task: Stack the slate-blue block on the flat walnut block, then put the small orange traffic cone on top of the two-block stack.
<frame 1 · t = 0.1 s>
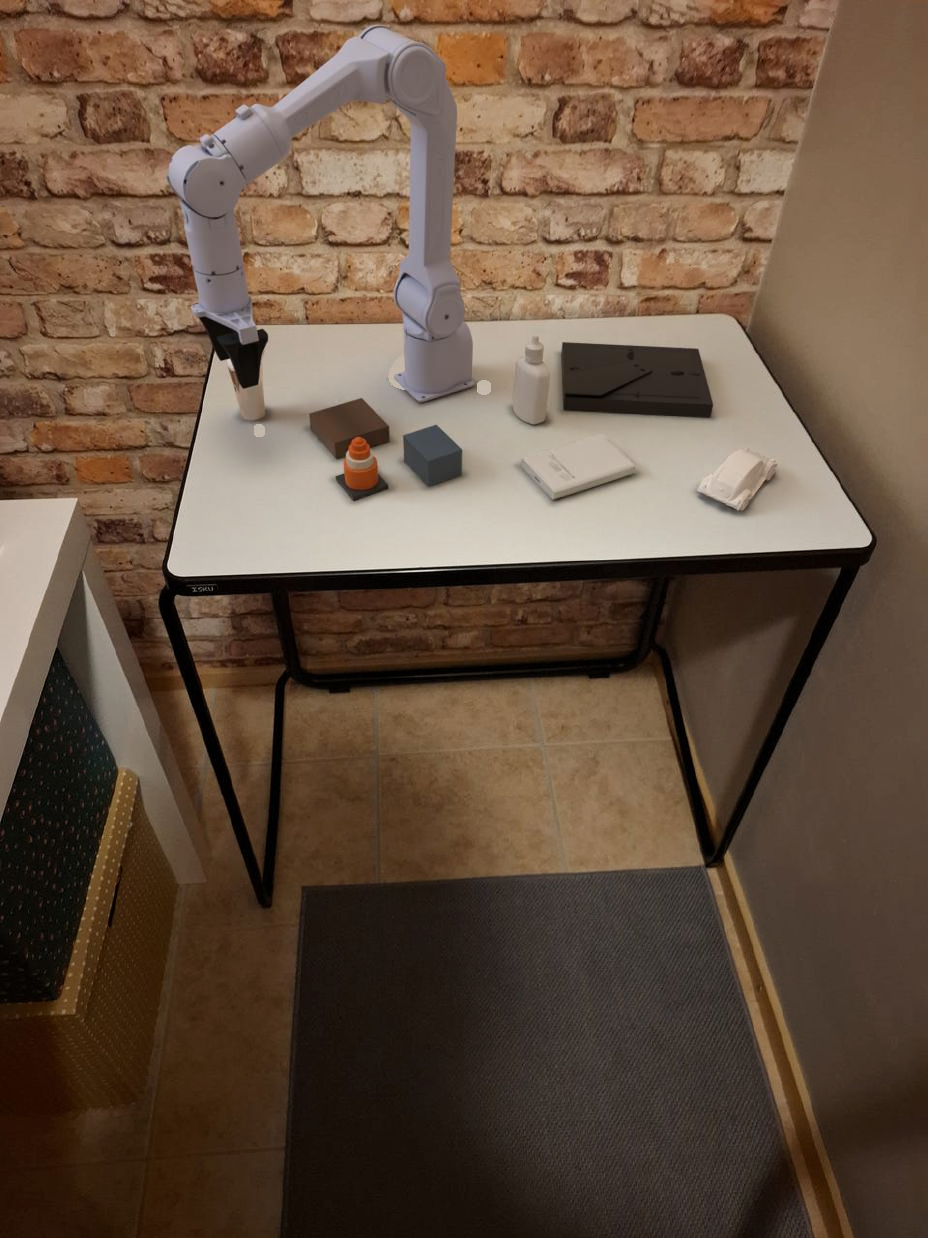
hand: (238, 371, 108), 10 cm above the table, tool pointing down, fingers open, 7 cm apart
cone: (362, 484, 109), on the table
hard drive: (576, 471, 112), on the table
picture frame: (631, 385, 127), on the table
eye dropper bottle: (528, 416, 121), on the table
car: (736, 487, 110), on the table
milkshake: (256, 415, 119), on the table
base block: (349, 435, 116), on the table
blue block: (432, 467, 111), on the table
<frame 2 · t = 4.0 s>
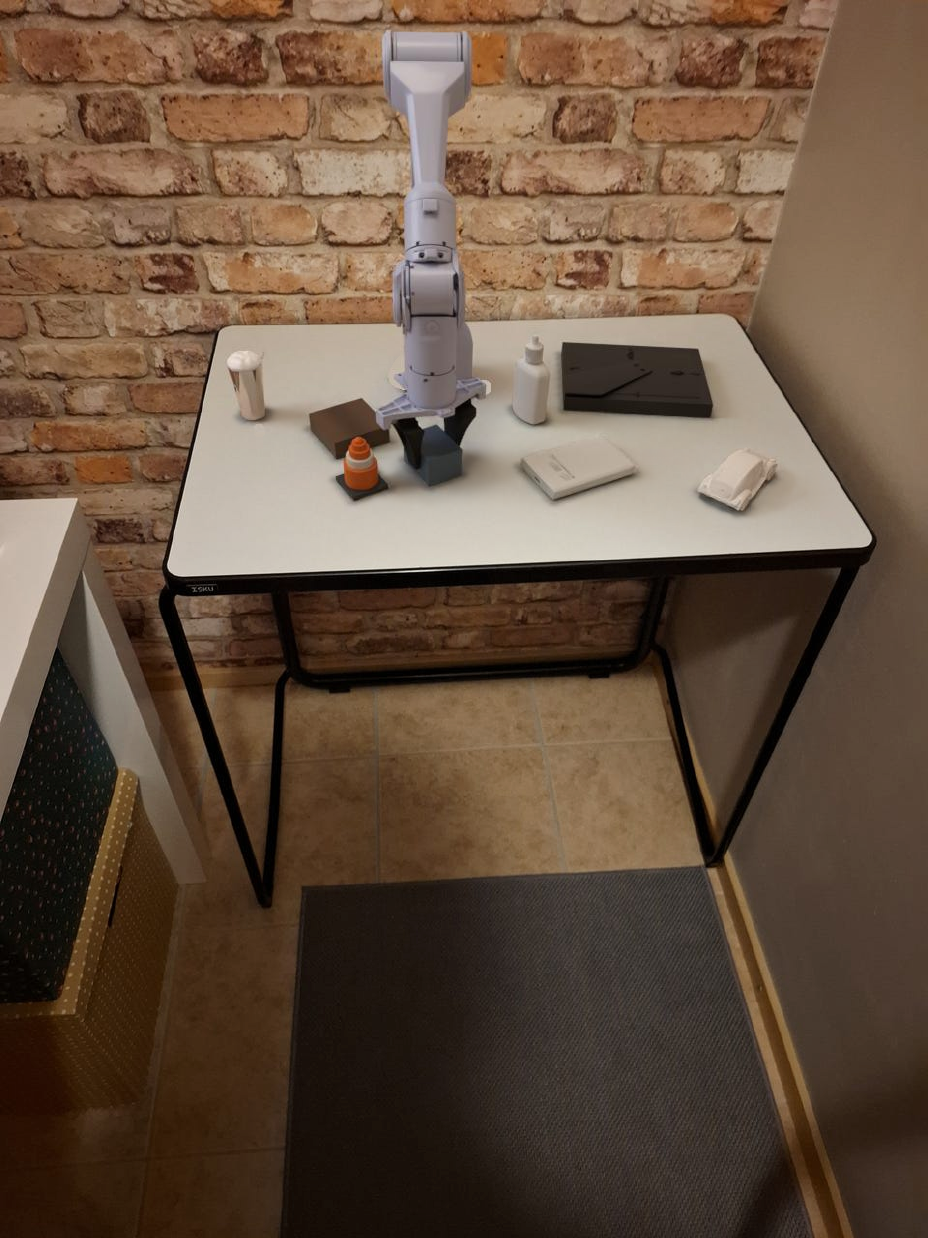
hand: (432, 458, 110), 1 cm above the table, tool pointing down, fingers closed on blue block, 5 cm apart
blue block: (432, 467, 111), on the table, touching gripper
everything else where it was.
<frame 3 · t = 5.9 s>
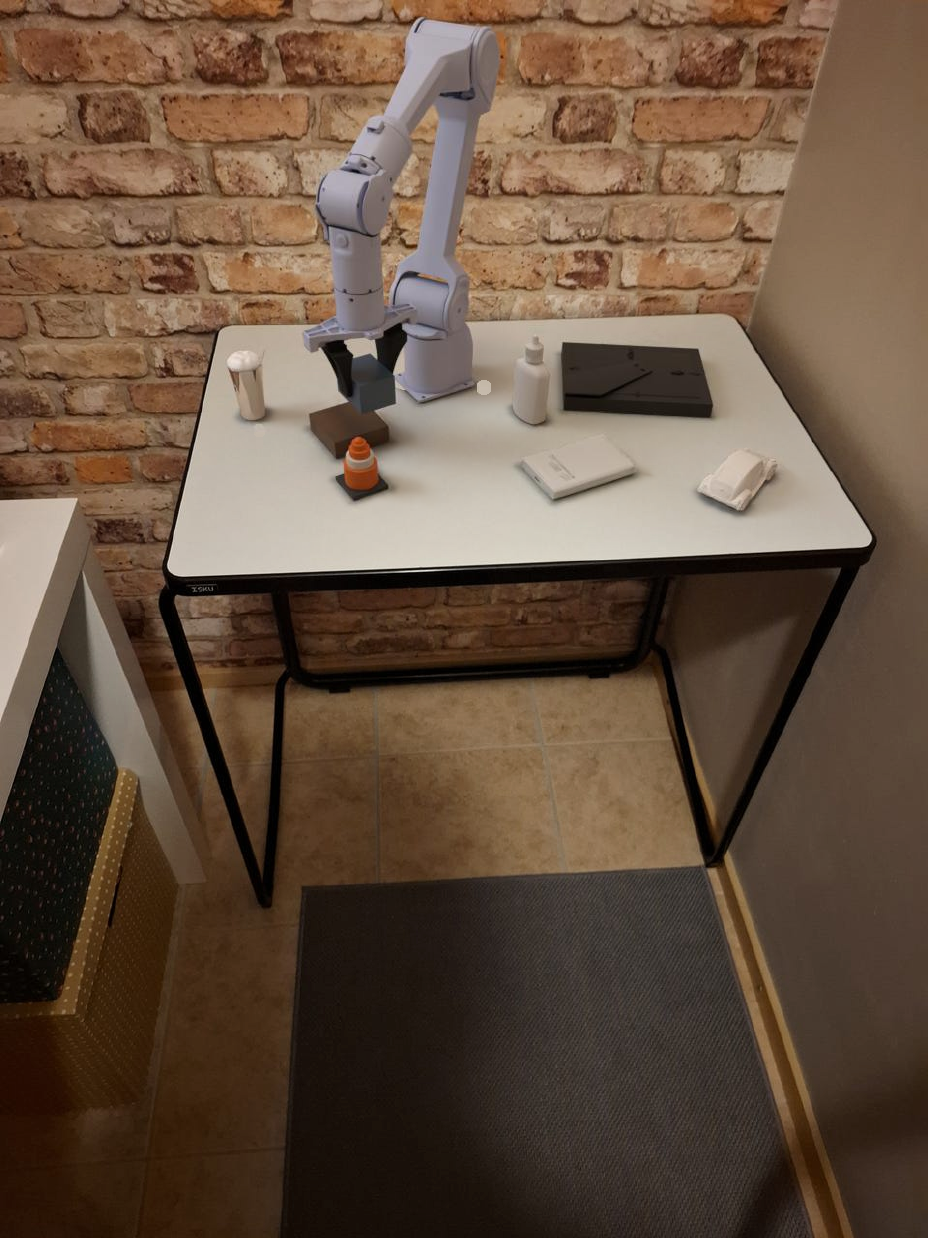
hand: (365, 387, 109), 8 cm above the table, tool pointing down, fingers closed on blue block, 5 cm apart
blue block: (366, 397, 110), point 7 cm above the table, touching gripper
everything else where it was.
when the fingers open (4 cm above the table, at t = 7.8 s): blue block stays where it is, resting on base block.
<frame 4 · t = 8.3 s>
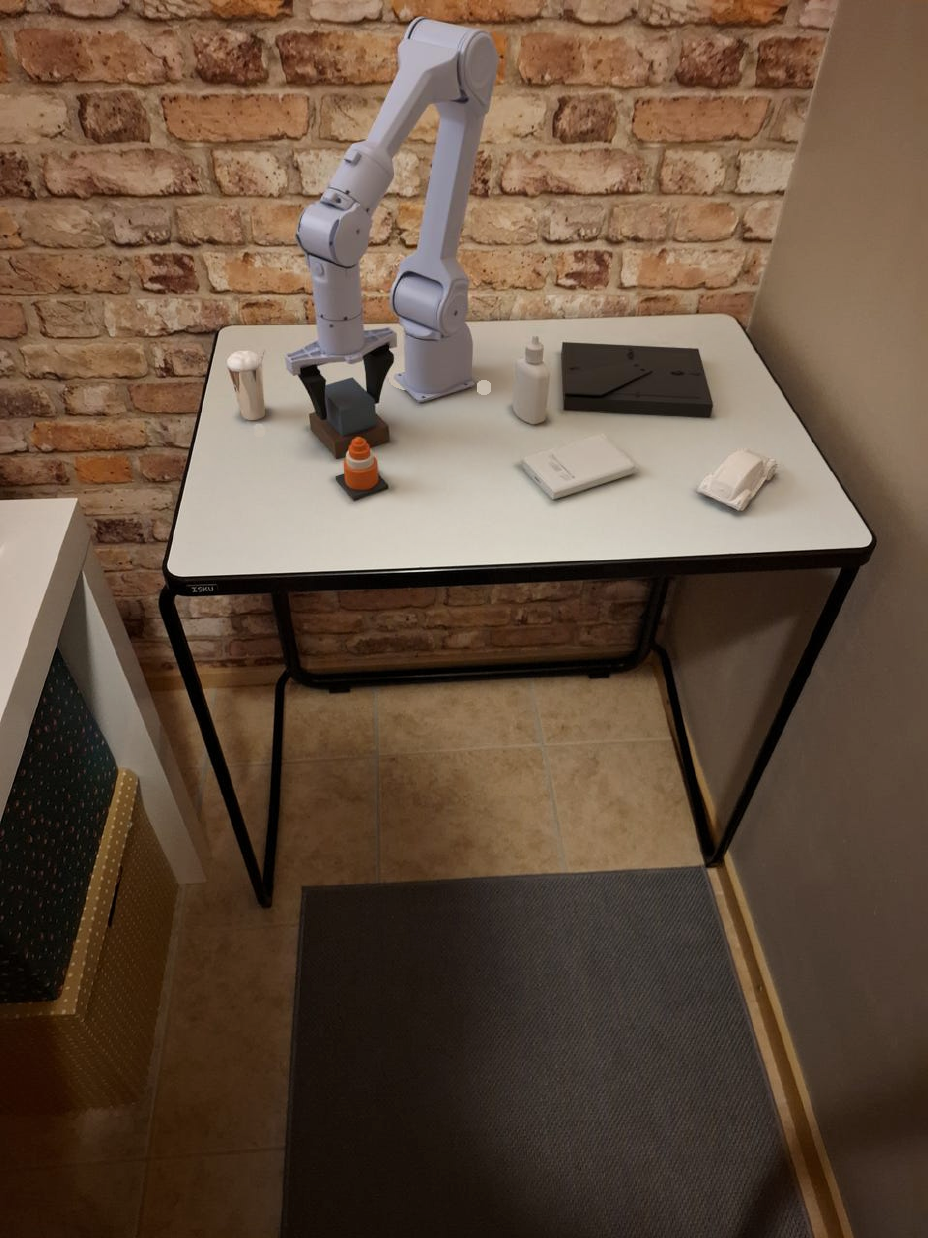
hand: (347, 407, 113), 4 cm above the table, tool pointing down, fingers open, 7 cm apart
base block: (349, 435, 116), on the table, touching blue block
blue block: (348, 419, 114), point 2 cm above the table, touching base block
everything else where it was.
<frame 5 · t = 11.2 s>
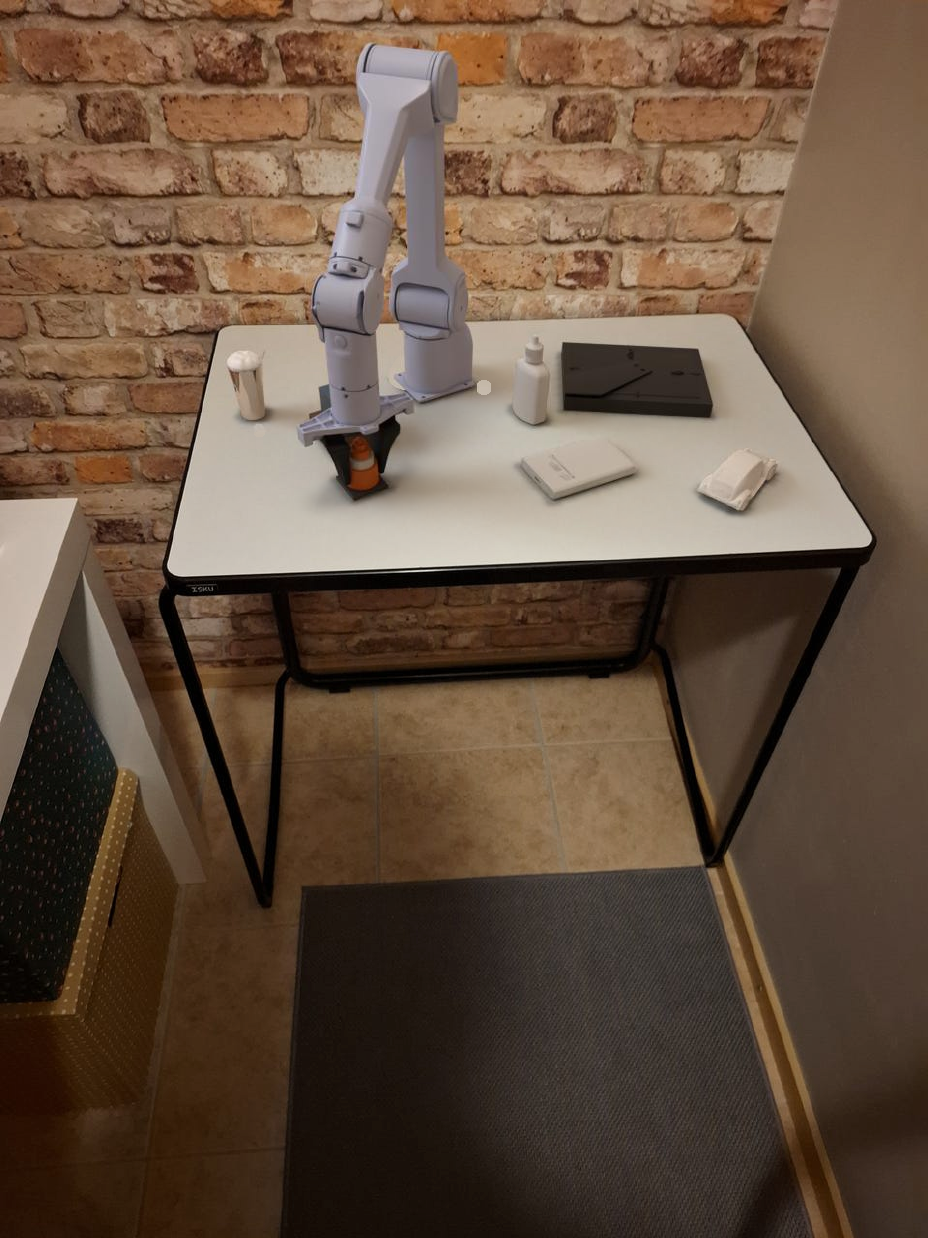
hand: (361, 475, 108), 1 cm above the table, tool pointing down, fingers closed on cone, 4 cm apart
cone: (362, 484, 109), on the table, touching gripper
everything else where it was.
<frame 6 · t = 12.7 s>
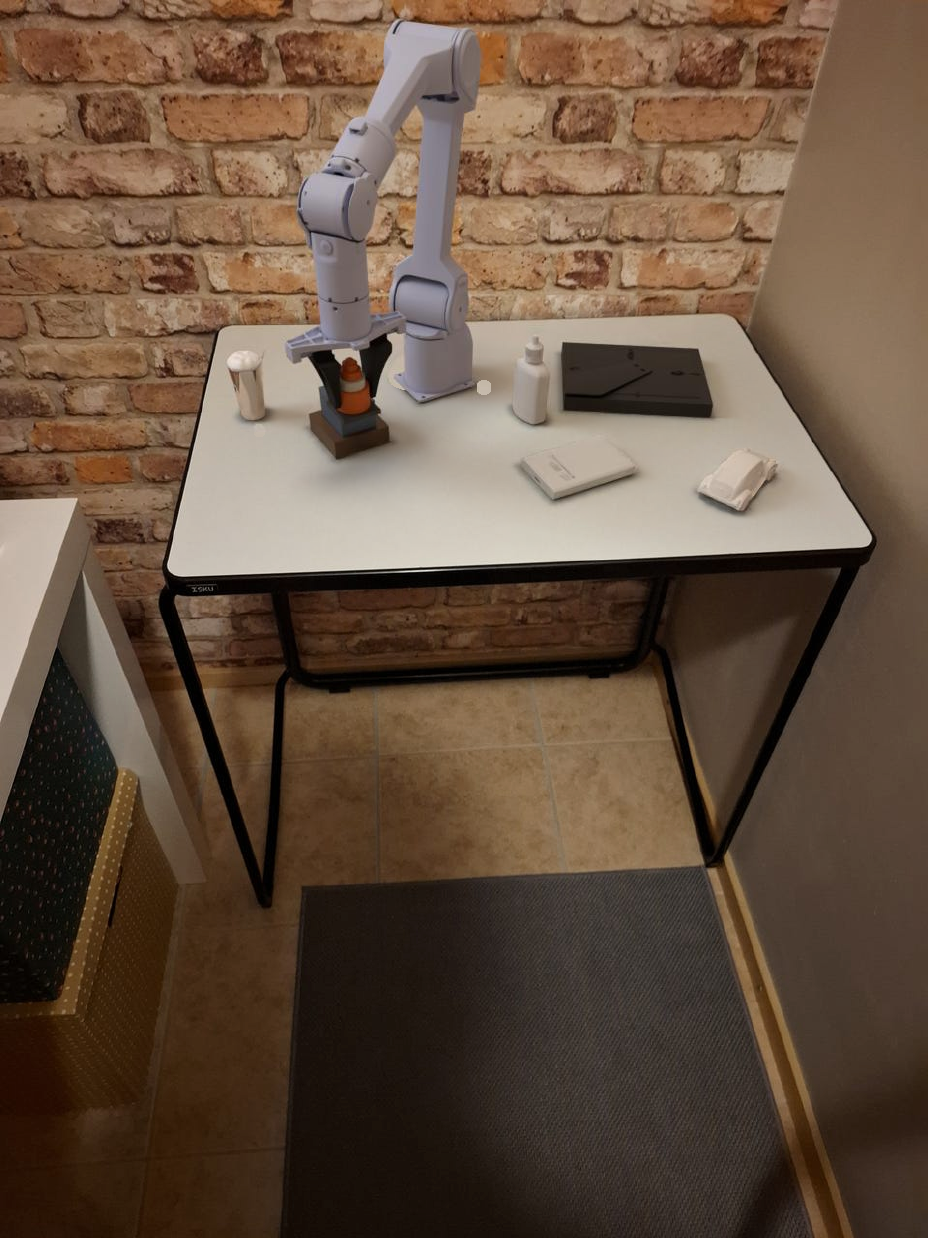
hand: (352, 399, 104), 10 cm above the table, tool pointing down, fingers closed on cone, 4 cm apart
cone: (353, 409, 105), point 8 cm above the table, touching gripper
everything else where it was.
when the fingers open (8 cm above the table, at t = 14.4 s): cone stays where it is, resting on blue block.
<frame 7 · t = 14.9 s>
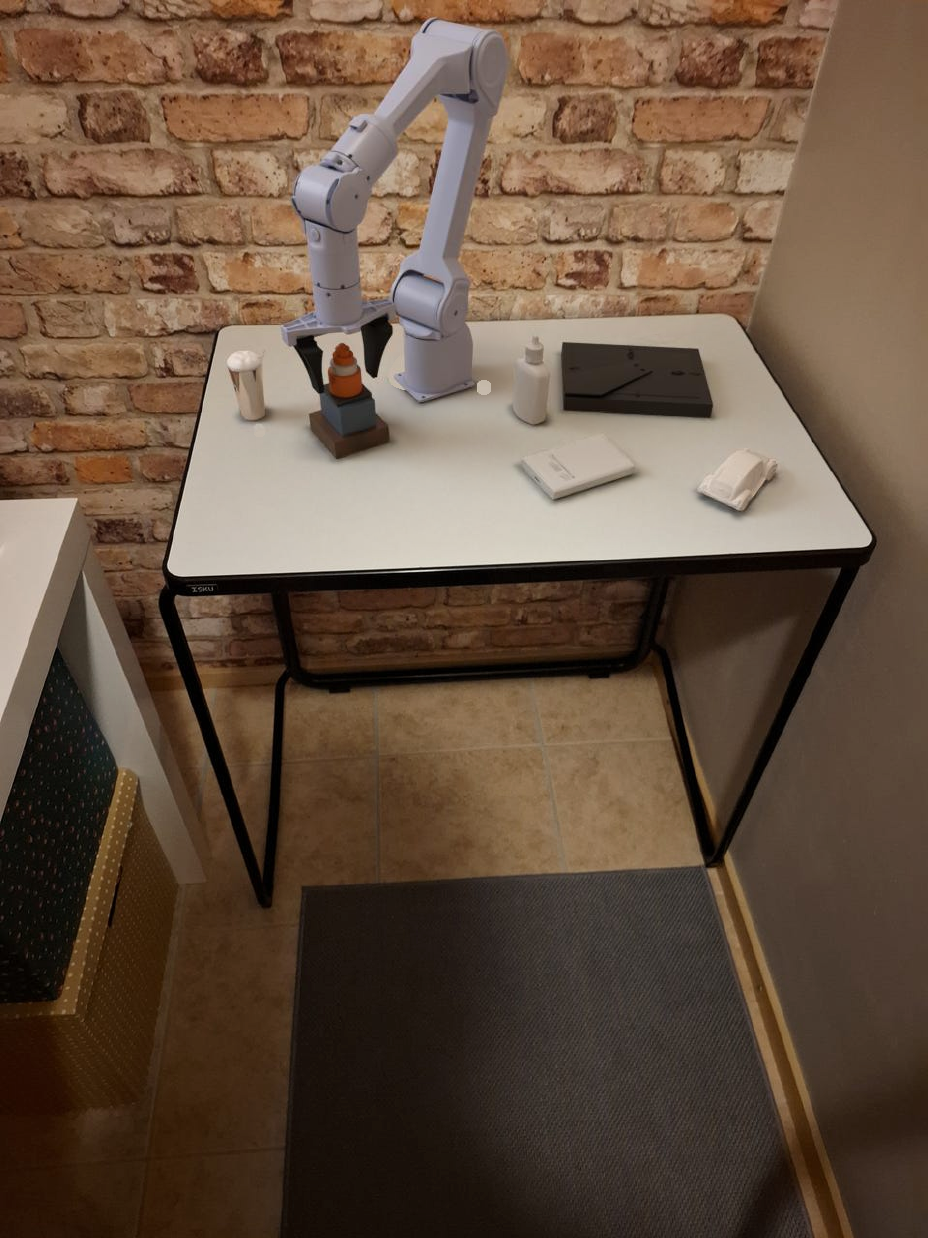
hand: (345, 381, 110), 8 cm above the table, tool pointing down, fingers open, 7 cm apart
cone: (346, 393, 112), point 7 cm above the table, touching blue block
blue block: (348, 419, 114), point 3 cm above the table, touching base block, cone
everything else where it was.
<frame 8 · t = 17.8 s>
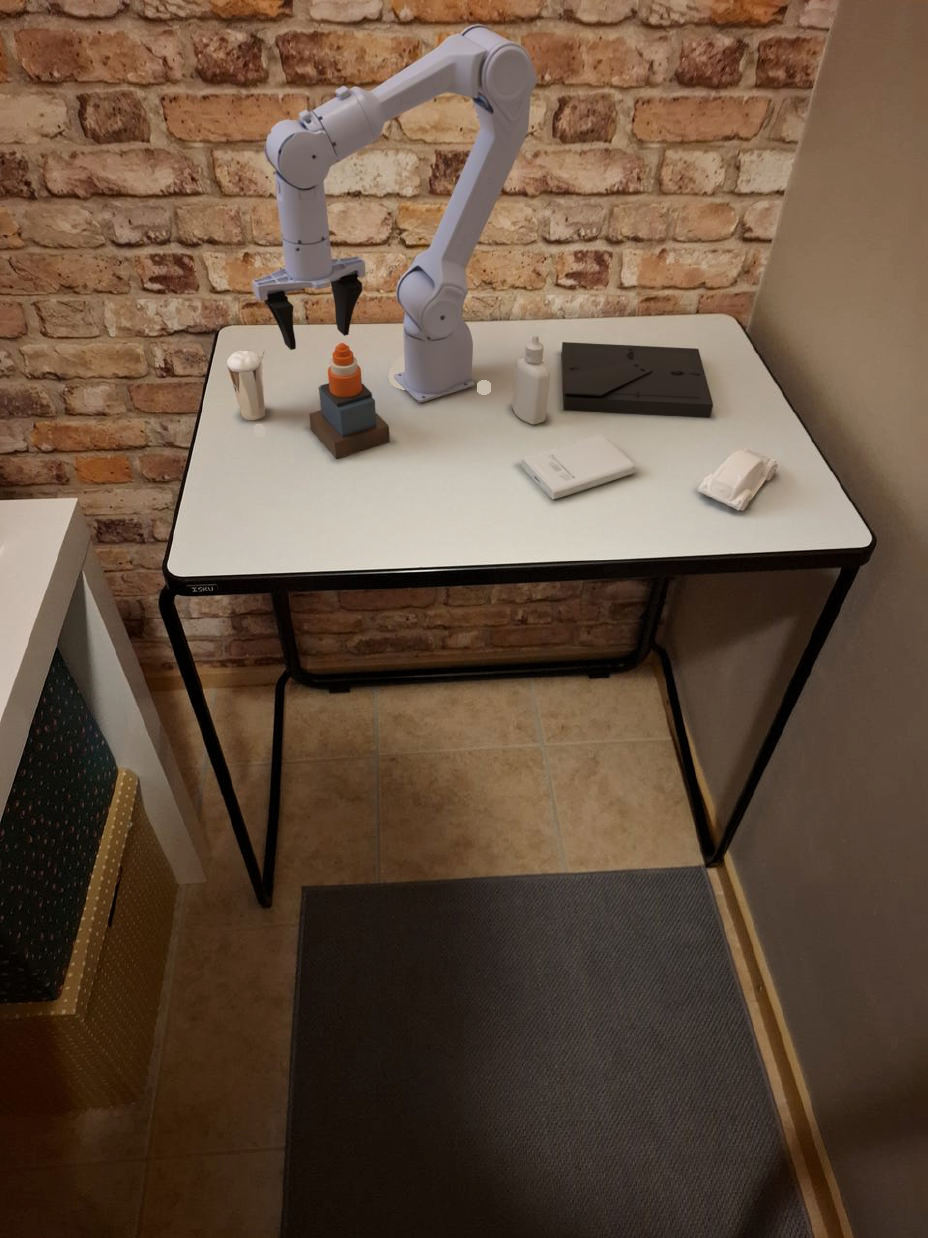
hand: (317, 338, 113), 10 cm above the table, tool pointing down, fingers open, 7 cm apart
nothing on the table moved.
at the end: blue block 0.0 cm off-centre on the base block, point 2.5 cm above the base block's base; cone 0.0 cm off-centre on the blue block, point 4.0 cm above the blue block's base; cone tilted 0° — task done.
